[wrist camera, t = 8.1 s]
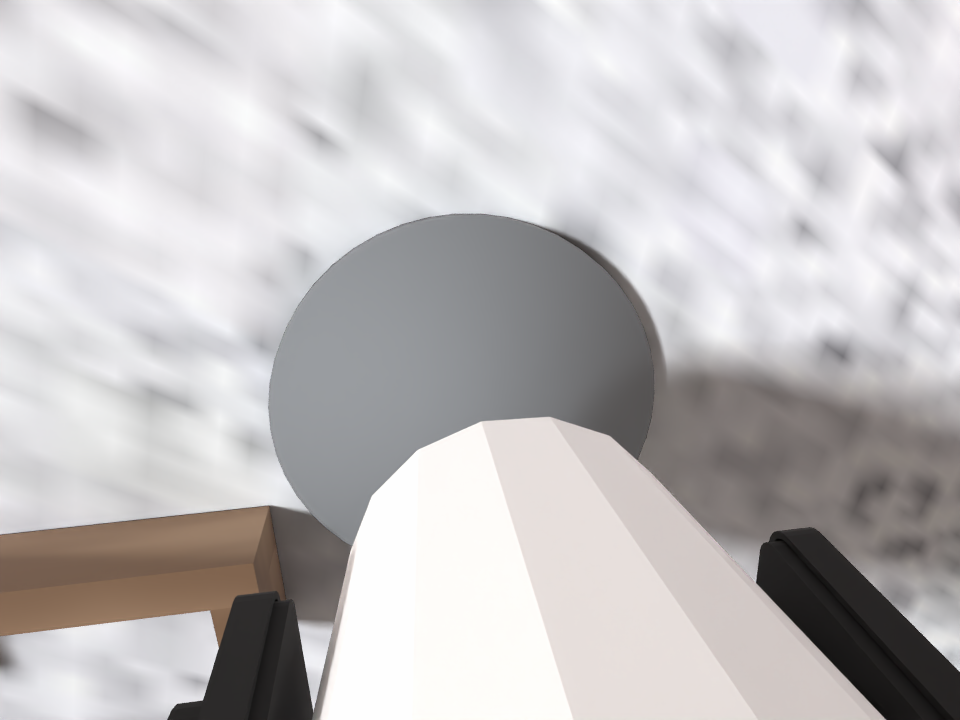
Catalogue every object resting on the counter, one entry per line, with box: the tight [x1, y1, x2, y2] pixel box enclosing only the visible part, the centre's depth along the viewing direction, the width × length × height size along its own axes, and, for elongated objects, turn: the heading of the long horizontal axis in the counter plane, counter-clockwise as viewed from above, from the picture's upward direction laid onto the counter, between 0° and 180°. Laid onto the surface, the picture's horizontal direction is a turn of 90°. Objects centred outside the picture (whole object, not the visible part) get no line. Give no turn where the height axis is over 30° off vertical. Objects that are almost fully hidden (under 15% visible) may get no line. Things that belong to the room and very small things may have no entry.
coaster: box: [268, 214, 654, 546], centre depth 18 cm, size 10×10×1 cm
